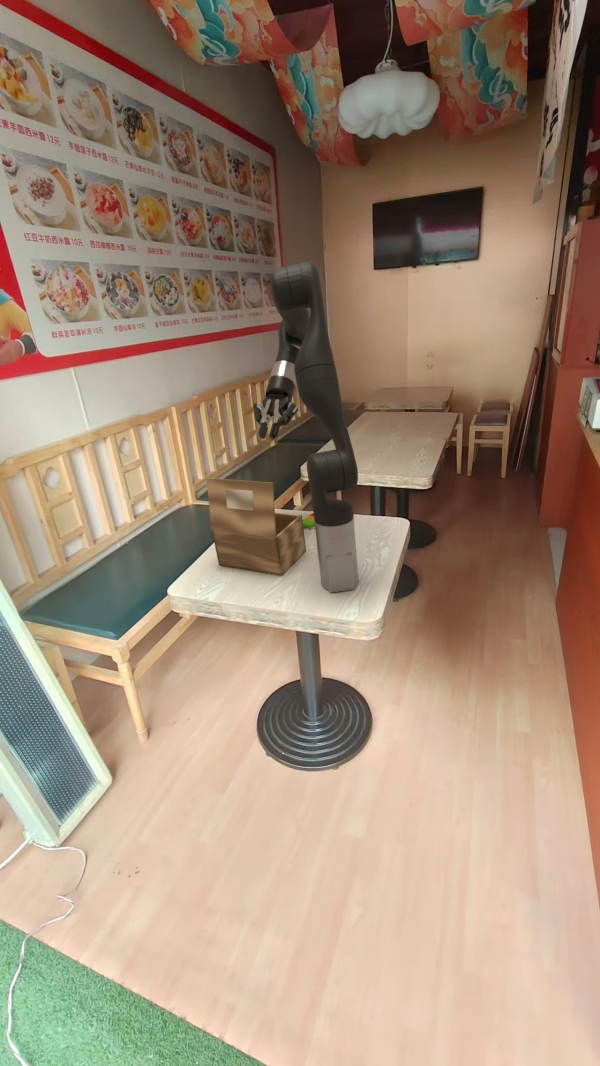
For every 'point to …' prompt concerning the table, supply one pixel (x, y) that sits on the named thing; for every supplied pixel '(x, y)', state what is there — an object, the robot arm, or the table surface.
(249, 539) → the brown wooden box
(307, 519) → the popsicle
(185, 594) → the table surface
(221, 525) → the flap
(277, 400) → the robot arm
